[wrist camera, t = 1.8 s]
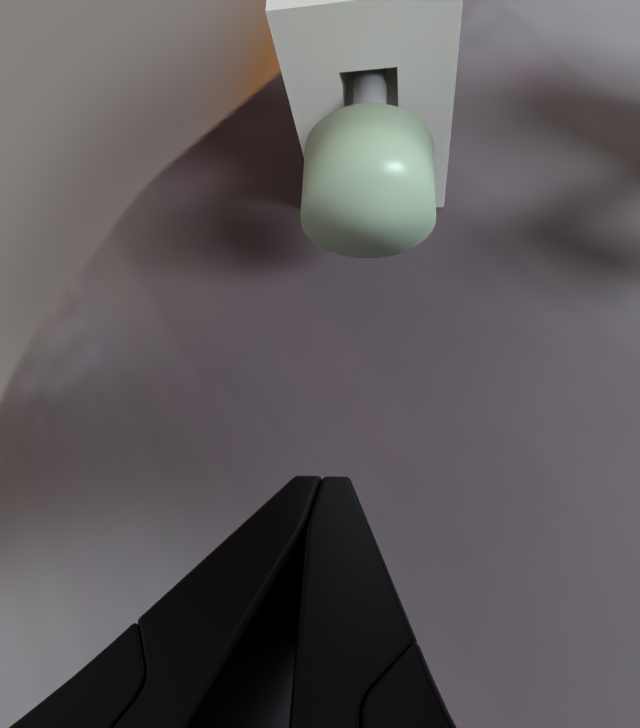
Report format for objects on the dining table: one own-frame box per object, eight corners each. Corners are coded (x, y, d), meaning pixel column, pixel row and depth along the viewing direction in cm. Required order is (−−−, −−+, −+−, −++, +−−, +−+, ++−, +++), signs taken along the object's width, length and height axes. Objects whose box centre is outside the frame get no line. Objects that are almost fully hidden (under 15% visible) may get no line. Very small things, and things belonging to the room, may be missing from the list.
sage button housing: (443, 207, 26) (464, -13, 16) (318, 214, 27) (265, 11, 17) (440, 123, 27) (457, -121, 18) (323, 133, 28) (277, -94, 19)
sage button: (433, 255, 19) (439, 172, 15) (312, 260, 20) (287, 182, 16) (429, 113, 22) (433, 8, 18) (320, 122, 22) (300, 23, 18)
